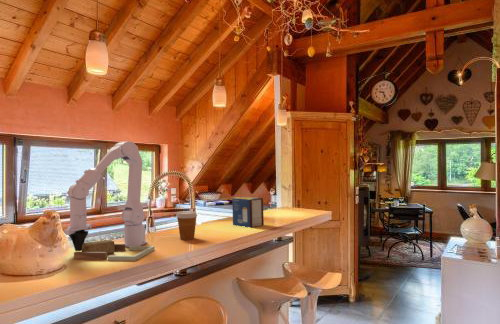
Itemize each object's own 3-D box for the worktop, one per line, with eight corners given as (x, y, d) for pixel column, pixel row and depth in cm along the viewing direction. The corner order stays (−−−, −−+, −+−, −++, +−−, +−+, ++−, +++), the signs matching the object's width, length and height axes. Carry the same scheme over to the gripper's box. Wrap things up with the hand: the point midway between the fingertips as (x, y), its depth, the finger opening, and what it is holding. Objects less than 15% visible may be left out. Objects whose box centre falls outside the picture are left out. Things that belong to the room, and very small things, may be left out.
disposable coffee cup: (172, 240, 162) (172, 213, 162) (182, 236, 171) (182, 211, 171) (192, 241, 159) (191, 214, 160) (201, 237, 168) (200, 211, 169)
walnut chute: (97, 249, 145) (97, 243, 145) (125, 250, 143) (125, 243, 143) (74, 259, 130) (73, 252, 130) (105, 259, 128) (105, 252, 128)
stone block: (115, 253, 138) (115, 240, 138) (83, 258, 131) (82, 245, 131) (111, 251, 143) (111, 238, 143) (80, 255, 136) (80, 242, 136)
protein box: (246, 222, 211) (245, 196, 212) (264, 225, 200) (263, 197, 200) (232, 224, 205) (231, 197, 205) (249, 227, 193) (249, 199, 193)
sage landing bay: (130, 249, 144) (130, 245, 144) (154, 249, 143) (154, 246, 143) (107, 260, 127) (107, 256, 127) (135, 260, 126) (135, 256, 126)
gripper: (79, 212, 146) (80, 246, 145) (56, 217, 131) (56, 255, 131) (96, 212, 145) (96, 246, 144) (74, 217, 130) (74, 255, 130)
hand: (78, 250), depth 138 cm, fingers closed
